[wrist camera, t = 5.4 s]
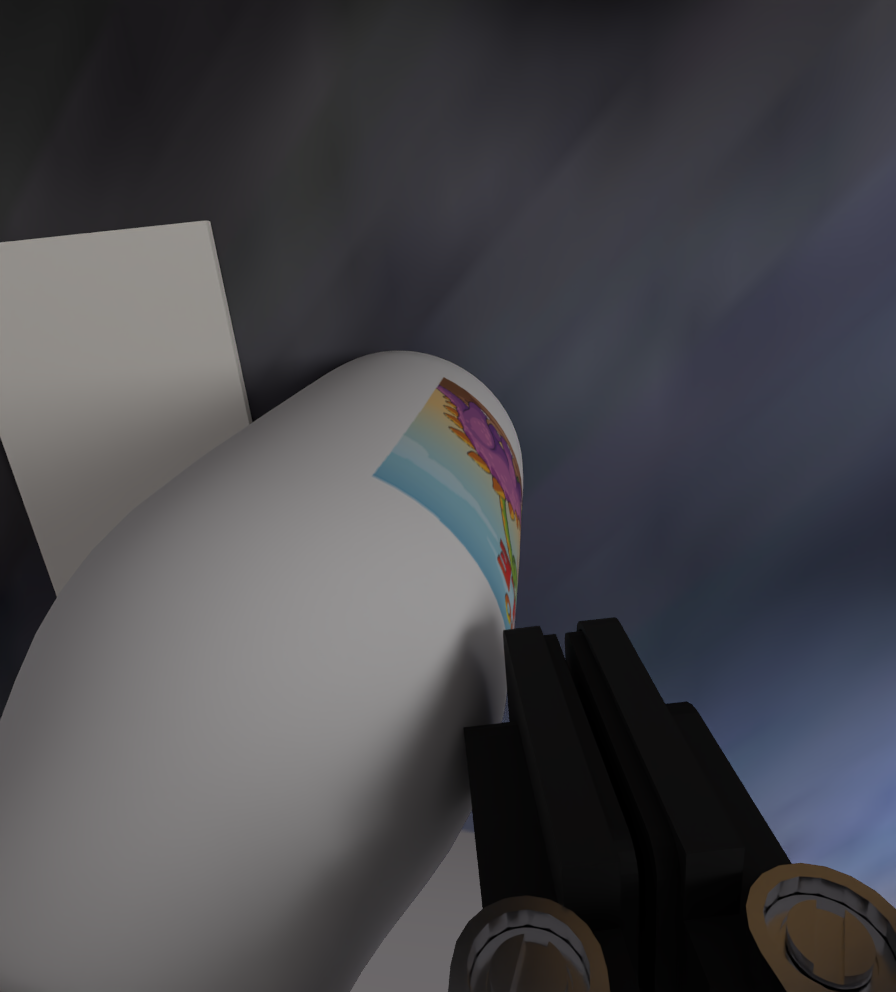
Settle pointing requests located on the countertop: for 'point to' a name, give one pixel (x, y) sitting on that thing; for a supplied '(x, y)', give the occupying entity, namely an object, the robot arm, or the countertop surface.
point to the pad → (111, 375)
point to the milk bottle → (265, 697)
